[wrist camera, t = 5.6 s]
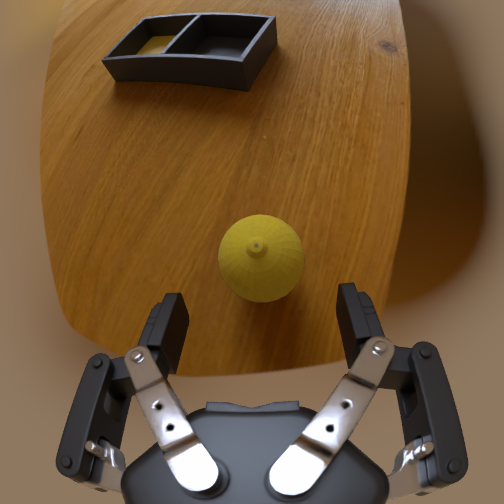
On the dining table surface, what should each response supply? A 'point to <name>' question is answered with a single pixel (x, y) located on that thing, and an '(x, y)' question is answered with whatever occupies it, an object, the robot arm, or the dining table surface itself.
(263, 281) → the lemon
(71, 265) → the dining table surface
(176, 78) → the sorter
